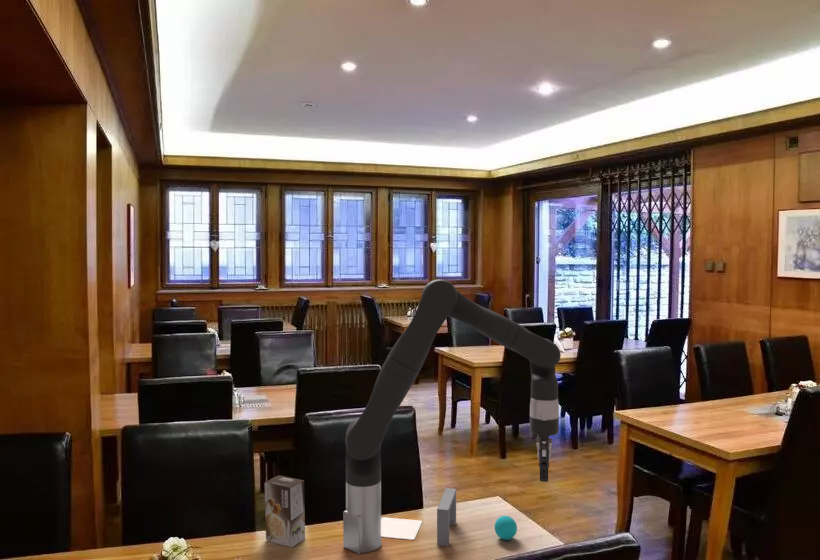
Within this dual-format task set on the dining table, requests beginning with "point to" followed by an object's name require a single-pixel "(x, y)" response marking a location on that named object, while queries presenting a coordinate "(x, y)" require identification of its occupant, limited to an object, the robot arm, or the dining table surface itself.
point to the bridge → (446, 516)
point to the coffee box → (285, 510)
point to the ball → (505, 527)
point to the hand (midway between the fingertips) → (543, 478)
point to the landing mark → (399, 528)
